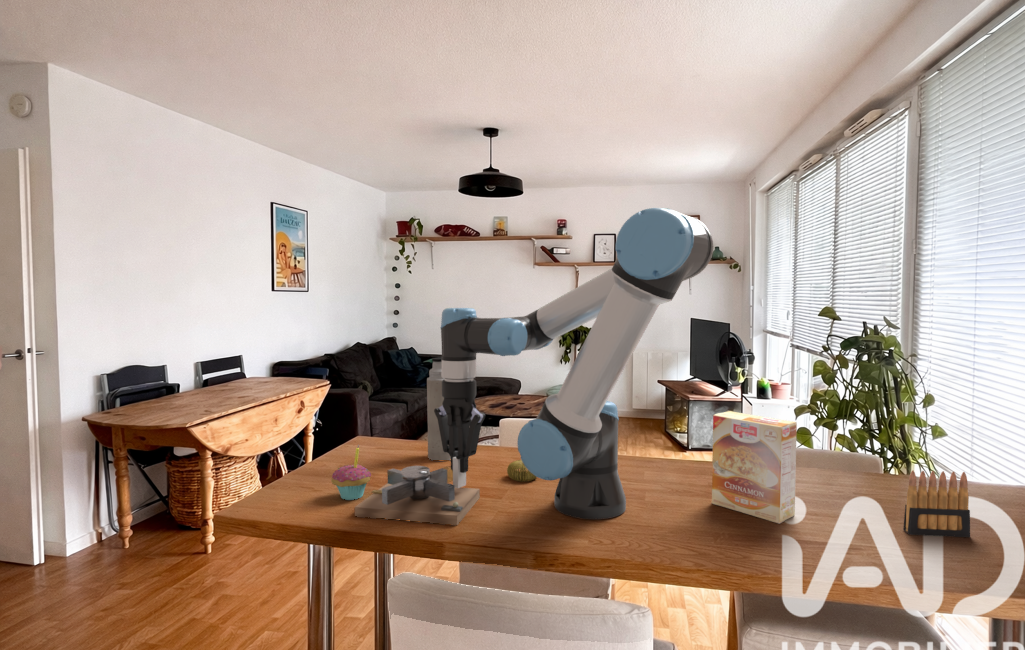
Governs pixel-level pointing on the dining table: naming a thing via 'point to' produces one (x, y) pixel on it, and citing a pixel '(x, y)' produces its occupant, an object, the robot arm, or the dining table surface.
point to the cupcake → (351, 479)
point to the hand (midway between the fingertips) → (459, 485)
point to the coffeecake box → (754, 465)
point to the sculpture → (519, 476)
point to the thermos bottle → (432, 403)
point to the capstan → (418, 484)
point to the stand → (420, 507)
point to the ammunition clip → (937, 507)
